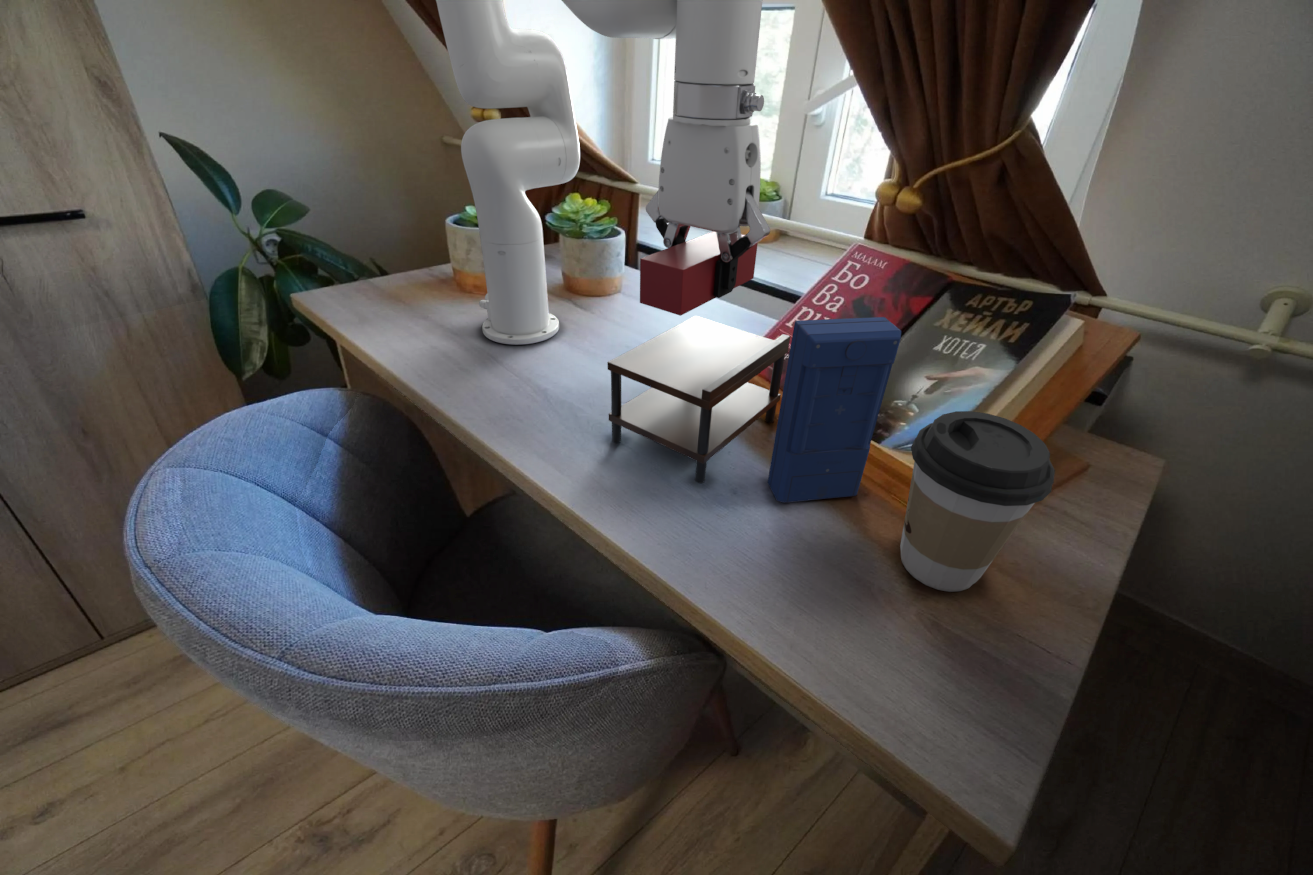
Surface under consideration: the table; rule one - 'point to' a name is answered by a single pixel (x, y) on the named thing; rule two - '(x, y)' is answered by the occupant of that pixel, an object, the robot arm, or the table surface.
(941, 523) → the coffee cup
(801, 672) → the table surface
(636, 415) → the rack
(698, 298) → the red rectangular block
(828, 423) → the electronic device
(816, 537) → the table surface
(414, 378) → the table surface
